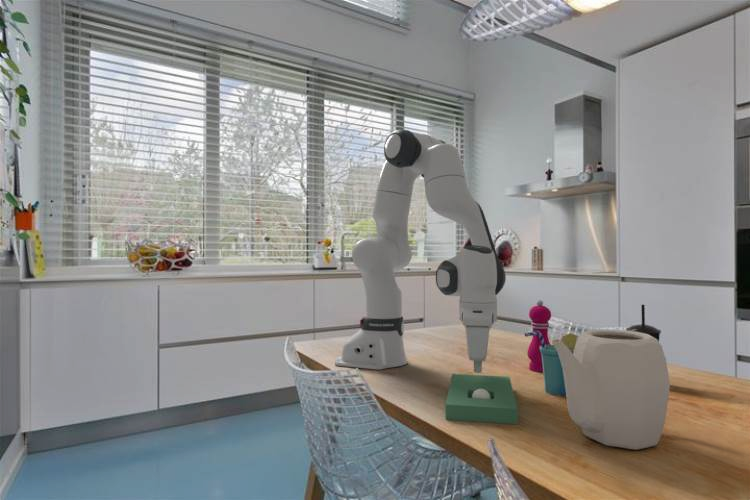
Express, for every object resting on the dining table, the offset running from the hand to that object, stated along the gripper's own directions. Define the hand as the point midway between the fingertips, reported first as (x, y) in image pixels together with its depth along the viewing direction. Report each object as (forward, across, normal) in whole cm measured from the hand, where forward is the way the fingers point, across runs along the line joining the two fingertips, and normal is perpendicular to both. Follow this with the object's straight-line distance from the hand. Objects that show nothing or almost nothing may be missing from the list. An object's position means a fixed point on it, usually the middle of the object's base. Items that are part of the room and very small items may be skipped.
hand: (477, 371), depth 108 cm
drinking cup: (+5, -18, +41) cm, 46 cm away
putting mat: (+5, +6, +1) cm, 8 cm away
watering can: (+5, +22, +24) cm, 33 cm away
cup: (+6, -5, +18) cm, 19 cm away
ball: (+3, +10, +1) cm, 11 cm away
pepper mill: (+6, -27, +17) cm, 33 cm away
